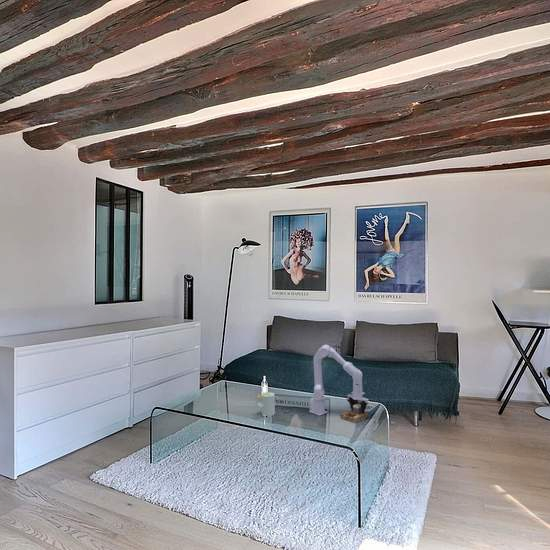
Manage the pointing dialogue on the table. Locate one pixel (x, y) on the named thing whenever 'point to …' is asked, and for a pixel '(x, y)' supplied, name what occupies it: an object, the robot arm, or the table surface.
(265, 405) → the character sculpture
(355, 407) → the plug
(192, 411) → the table surface
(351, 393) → the coffee mug
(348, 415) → the socket board
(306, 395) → the table surface
